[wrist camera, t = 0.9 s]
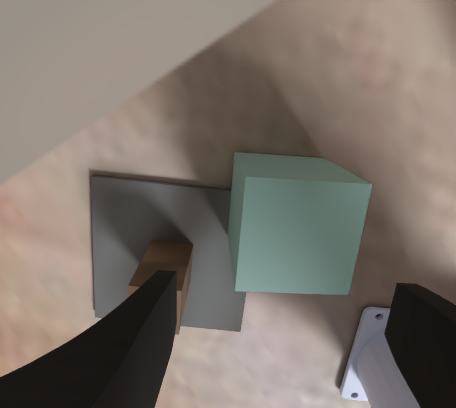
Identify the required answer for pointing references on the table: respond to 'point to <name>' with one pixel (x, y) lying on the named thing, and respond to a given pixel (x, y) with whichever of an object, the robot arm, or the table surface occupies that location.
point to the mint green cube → (294, 224)
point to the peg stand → (165, 247)
